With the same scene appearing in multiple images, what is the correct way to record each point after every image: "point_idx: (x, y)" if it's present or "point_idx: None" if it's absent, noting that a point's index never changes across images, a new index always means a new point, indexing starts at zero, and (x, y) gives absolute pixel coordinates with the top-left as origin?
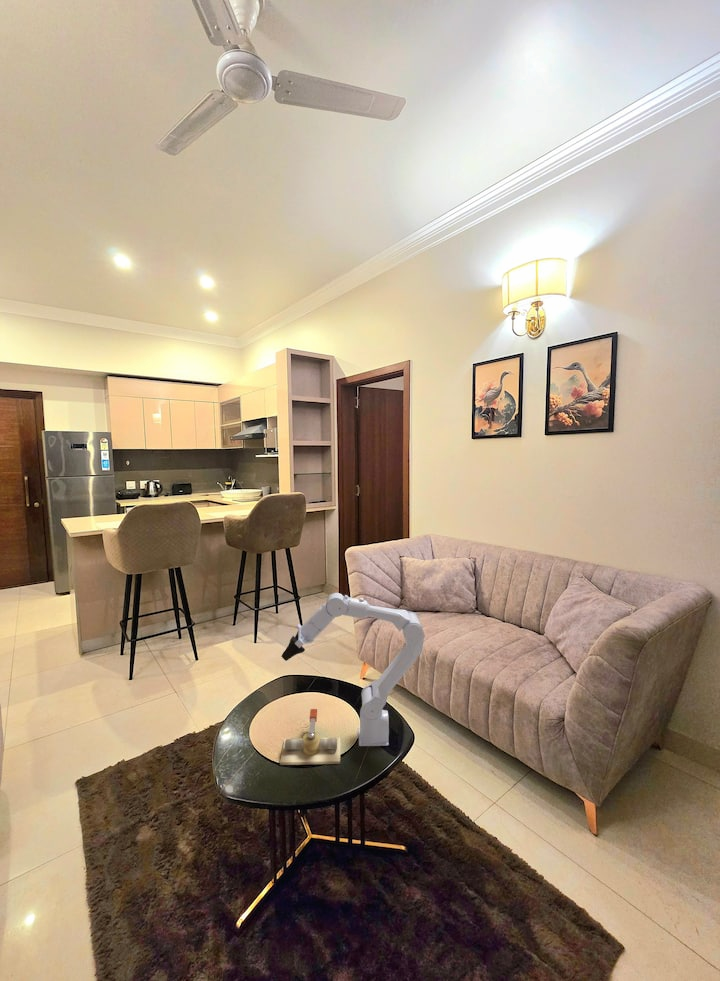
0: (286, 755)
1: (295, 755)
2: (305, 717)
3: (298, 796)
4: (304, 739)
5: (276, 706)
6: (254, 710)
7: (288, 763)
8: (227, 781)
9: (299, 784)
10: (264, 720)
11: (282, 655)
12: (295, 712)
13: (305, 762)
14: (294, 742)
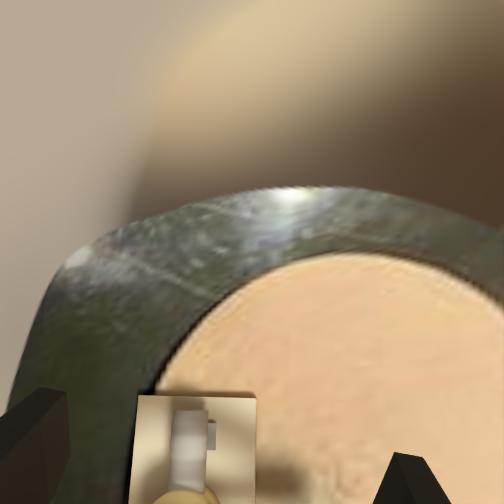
0: (169, 416)
1: (164, 452)
2: None
3: None
4: (167, 500)
5: (470, 335)
6: (435, 250)
7: (136, 427)
8: (103, 244)
9: None
10: (376, 300)
11: (18, 406)
12: (435, 426)
13: (130, 495)
14: (175, 451)
